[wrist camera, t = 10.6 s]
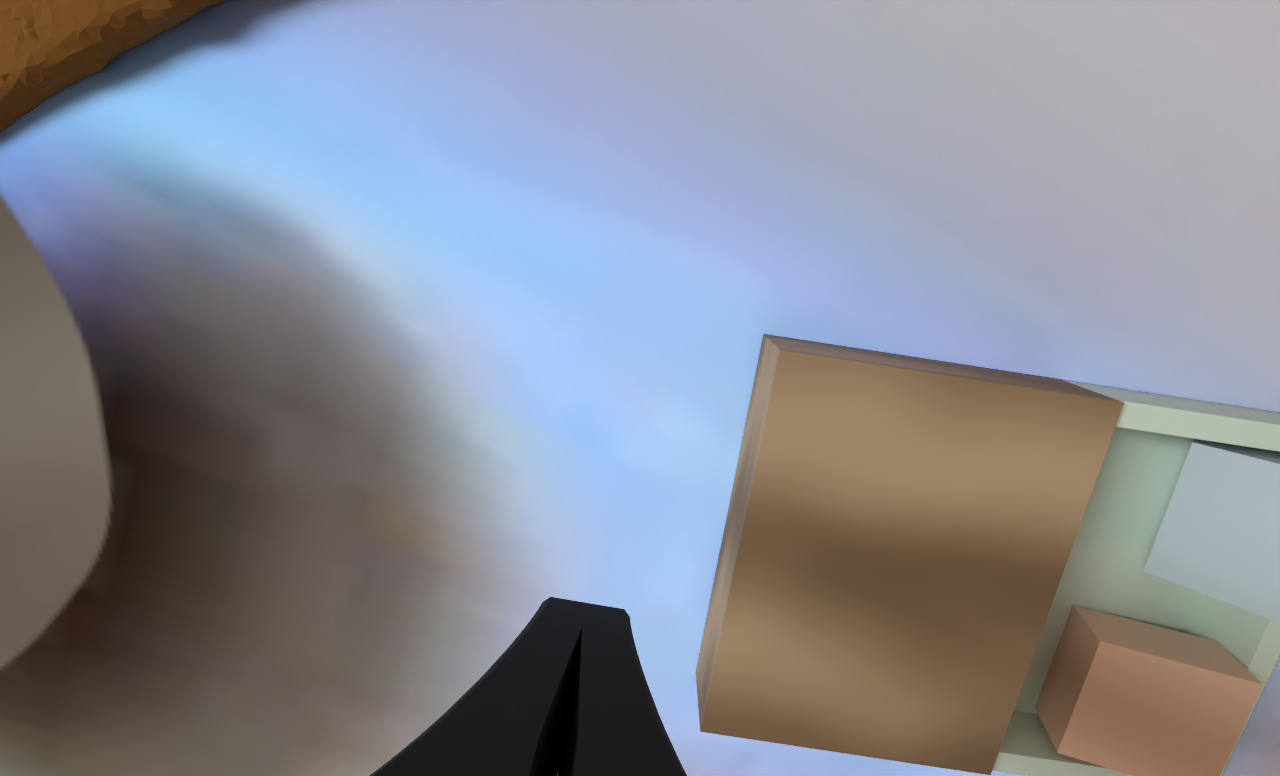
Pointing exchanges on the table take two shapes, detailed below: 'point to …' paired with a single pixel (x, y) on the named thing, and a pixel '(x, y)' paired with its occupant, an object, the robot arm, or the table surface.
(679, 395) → the table surface
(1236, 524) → the slate tile
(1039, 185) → the table surface
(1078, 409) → the walnut board
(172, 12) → the primitive tool
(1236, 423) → the tray
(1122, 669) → the terracotta tile
